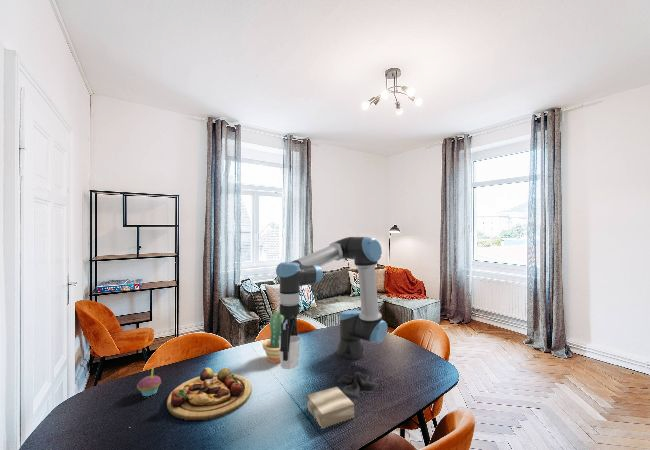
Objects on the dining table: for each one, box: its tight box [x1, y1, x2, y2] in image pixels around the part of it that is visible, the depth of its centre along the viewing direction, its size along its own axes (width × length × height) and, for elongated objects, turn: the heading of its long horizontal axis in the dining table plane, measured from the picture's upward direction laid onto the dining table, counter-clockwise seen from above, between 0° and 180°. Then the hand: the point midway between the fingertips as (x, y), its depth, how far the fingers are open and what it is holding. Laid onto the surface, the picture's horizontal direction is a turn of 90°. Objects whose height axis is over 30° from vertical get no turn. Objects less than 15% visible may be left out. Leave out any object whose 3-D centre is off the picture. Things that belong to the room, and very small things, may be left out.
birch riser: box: [306, 386, 355, 430], centre depth 107 cm, size 13×13×5 cm
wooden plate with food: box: [166, 366, 253, 422], centre depth 118 cm, size 32×32×8 cm
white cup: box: [279, 335, 301, 370], centre depth 111 cm, size 8×8×10 cm
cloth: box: [337, 371, 380, 399], centre depth 127 cm, size 22×19×6 cm
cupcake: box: [136, 367, 162, 397], centre depth 119 cm, size 9×8×12 cm
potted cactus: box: [262, 309, 284, 364], centre depth 152 cm, size 15×15×25 cm
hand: (289, 362), depth 111 cm, fingers closed on white cup, 8 cm apart
